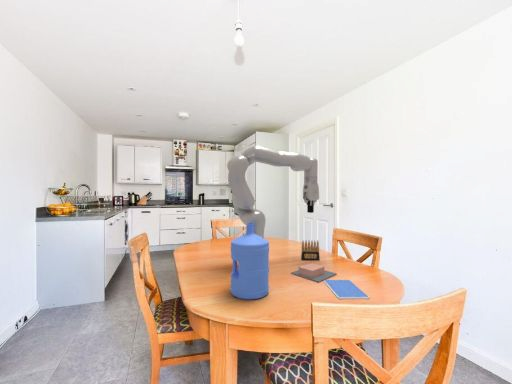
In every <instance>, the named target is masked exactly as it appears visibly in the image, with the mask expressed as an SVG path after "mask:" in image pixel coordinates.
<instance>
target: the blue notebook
mask: <svg viewBox="0 0 512 384" xmlns="http://www.w3.org/2000/svg"><path fill="white" fill-rule="evenodd" d="M323 283H324V284H325V285H326V286H327V288H329V290H330V291H331V292H332V294H333V295H334V296H335V297H336V298H337V299H338V300H369V299H370V296H369V295H368V294H366V293H365V292H364V291H363V290H362V289H360V288H359V287H358V286H357V285H356V283H354V282H352V281H351V280H350V279H326V280H324V281H323Z"/></svg>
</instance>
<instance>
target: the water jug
mask: <svg viewBox="0 0 512 384" xmlns="http://www.w3.org/2000/svg"><path fill="white" fill-rule="evenodd" d="M245 226H246V227H245V233H244V234H242V235H240V236H238V237H236V238H234V239H232V240H231V242H230V259H231V260H232V272H231V274H230V289H229V290H230V294H231V295H232V296H234V297H235V298H238V299H240V300H257V299H262V298H264V297H265V296H267V295H268V294H269V291H270V289H269V287H270V285H269V276H270V275H269V273H270V265H269V263H270V261H269V259H270V255H269V253H270V245H269V240H268V239H266V238H265V237H264V238H262V237H260V236H258V235H256V234H254V223H246V225H245ZM238 266H239V269H238Z"/></svg>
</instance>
